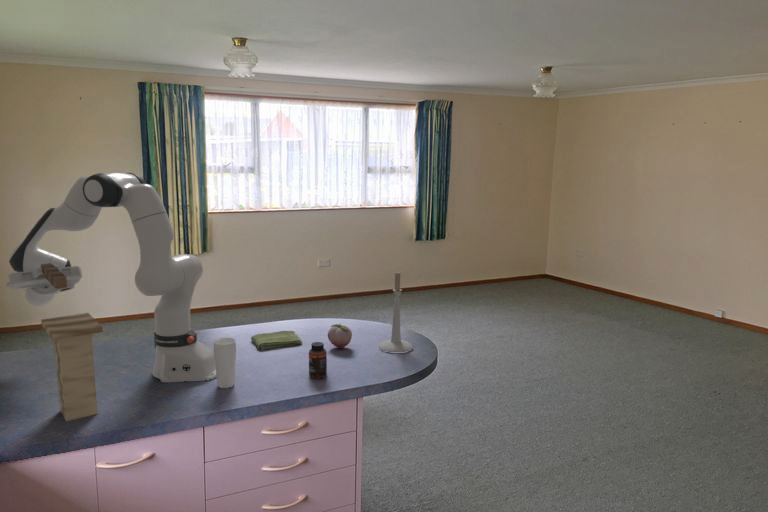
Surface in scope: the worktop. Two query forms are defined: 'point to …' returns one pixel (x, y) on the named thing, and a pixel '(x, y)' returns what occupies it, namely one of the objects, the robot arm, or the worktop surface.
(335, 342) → the decorative fruit
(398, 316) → the candlestick
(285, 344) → the washcloth
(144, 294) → the robot arm
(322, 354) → the supplement bottle
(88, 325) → the stand
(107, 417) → the worktop surface
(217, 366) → the drinking glass
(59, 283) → the block
